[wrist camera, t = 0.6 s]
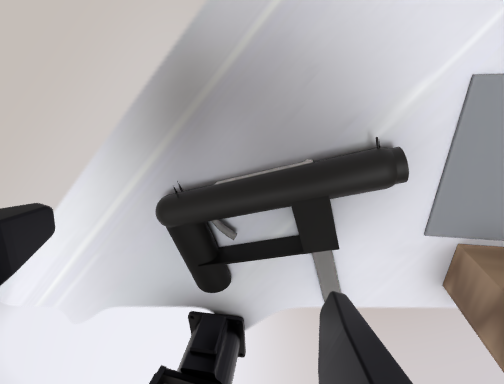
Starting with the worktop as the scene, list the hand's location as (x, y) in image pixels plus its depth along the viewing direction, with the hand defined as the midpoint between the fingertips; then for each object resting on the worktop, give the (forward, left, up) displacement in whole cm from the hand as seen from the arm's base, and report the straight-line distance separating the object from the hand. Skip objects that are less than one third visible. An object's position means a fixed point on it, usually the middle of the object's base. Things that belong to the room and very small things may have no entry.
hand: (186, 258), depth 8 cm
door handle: (-9, -2, -14) cm, 17 cm away
